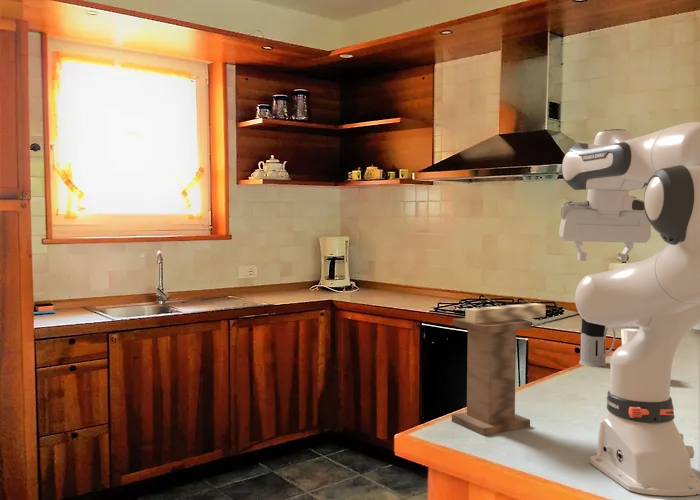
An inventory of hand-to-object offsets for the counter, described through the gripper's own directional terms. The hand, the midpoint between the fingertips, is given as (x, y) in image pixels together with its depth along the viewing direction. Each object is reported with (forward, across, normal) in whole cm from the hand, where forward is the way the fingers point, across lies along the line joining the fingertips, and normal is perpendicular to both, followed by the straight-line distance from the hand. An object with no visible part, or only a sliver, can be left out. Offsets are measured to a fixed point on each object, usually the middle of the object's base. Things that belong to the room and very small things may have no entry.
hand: (601, 260), depth 154 cm
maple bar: (+15, -20, +3) cm, 26 cm away
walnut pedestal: (+40, -24, -2) cm, 47 cm away
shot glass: (+49, +48, +88) cm, 112 cm away
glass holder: (+46, +25, +59) cm, 79 cm away
